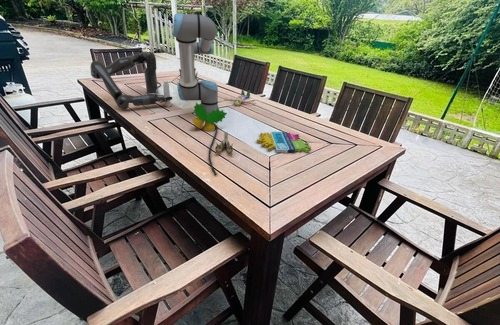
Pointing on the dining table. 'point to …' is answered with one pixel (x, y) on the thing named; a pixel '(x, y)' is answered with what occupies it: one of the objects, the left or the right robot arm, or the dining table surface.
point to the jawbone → (224, 145)
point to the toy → (241, 99)
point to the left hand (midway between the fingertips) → (170, 97)
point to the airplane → (195, 78)
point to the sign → (283, 142)
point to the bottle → (166, 92)
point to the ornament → (207, 117)
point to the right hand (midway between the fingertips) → (188, 90)
